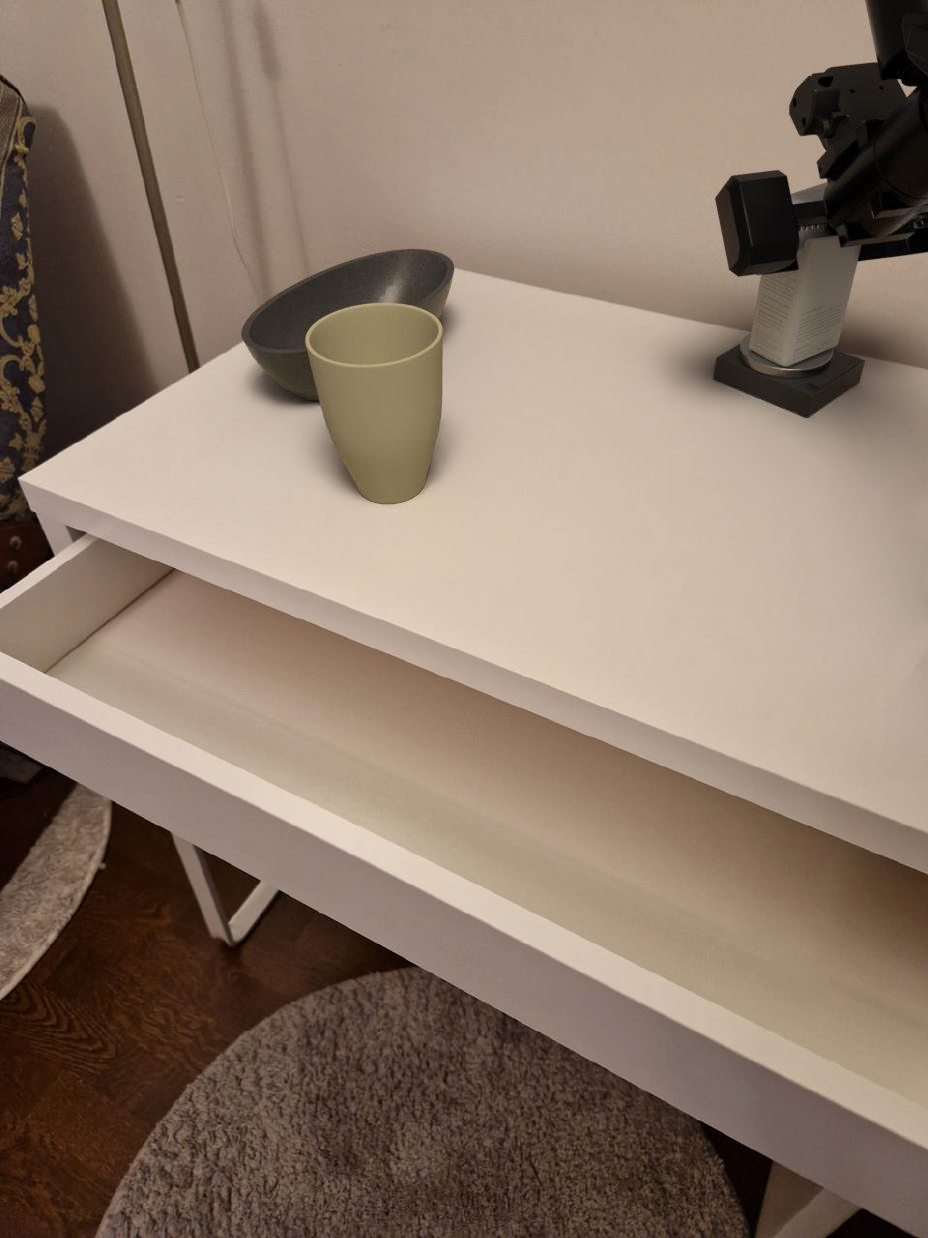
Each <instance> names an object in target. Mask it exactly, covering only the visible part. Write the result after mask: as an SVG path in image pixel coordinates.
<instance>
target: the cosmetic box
mask: <svg viewBox="0 0 928 1238" xmlns="http://www.w3.org/2000/svg"><path fill="white" fill-rule="evenodd" d="M827 185H828V183H827V181H826V182H825V181H824V182H822V183H819V184H816V185H813V186H810V187H807V188H805V189H801V190H799V191H795V192H792V193H791V198H792V203H793V204H798V203H806V202H813V201H821V200H823V195H824V190H825V187H826V186H827ZM825 225H826V224H825ZM820 226H821V225H820ZM803 228H804V227H803ZM809 228H810V226H809ZM861 246H862V245H858V246H851V247H843V248H841V247H840V242H839V238H831V239H824V240H816V241H809V242H805V244H804V247H803V248H802V249H801V250H800V251H799V252H798V253H797V261H798V266H799V270H797V271H790V272H782V273H775V274H768V275H760V280H759V285H758V292H757V297H756V302H755V308H754V315H753V320H752V325H751V332H750V333H751V337H750V342H749V347H750V349H751V350H752V351H754V352H756V353H757V354H759V355H761V356H763V357H765V358H766V359H768V360H770V361H772V362H775V363H777V364H779V365H781V366H784V367H787V366H790V365H792V364H795V363H797V362H799V361H802V360H804V359H806V358H809V357H811V356H814V355H816V354H818V353H821V352H823V351H825V350H828V349H830V348H836V347H837V346H838V345H839V342H840V337H841V335H842V334H841V333H842V330H843V325H844V320H845V317H846V313H847V309H848V304H849V300H850V297H851V296H850V295H851V291H852V287H853V283H854V279H855V274H856V271H857V265H858V263H859V262H858V258H859V254H860V250H861Z"/></svg>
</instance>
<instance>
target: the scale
mask: <svg viewBox="0 0 928 1238" xmlns="http://www.w3.org/2000/svg"><path fill="white" fill-rule="evenodd" d="M750 337H751V332H750V333H749V334H747V335H746V336H745V337H743V339H742V340H741V342H740V343H738V344H736V345H735V346H733V347H731V348H730V349H728V350H726V351H724V352H723V353H720V354H719V355H718V356H716V357H715V361H714V362H715V363H714V368H713V369H714V370H713V376H712V380H714V381H717V382H719V383H721V384H724V385H726V386H728V387H731V388H733V389H736V390H738V391H740V392H744V393H745V394H748V395H751V396H752V397H755V398H758V399H761V401H762V400H763V401H765V402H768V403H770V404H772V405H775V406H777V407H780V408H782V409H784V410H787V411H789V412H791V413H795V414H797V415H799V416H802V417H804V418H807V419H808V418H810V417H811V416H812V415H814V414H816V413H817V412H819V411H820V410H822V409H823V408H824V407H826V406H827V405H829V404H830V403H832V402H833V401H834V400H836V399H837V398H839V397H840V396H842V395H843V394H845V393H846V392H847V391H849V390H850V389H852V388H854V387H855V386H857V384H859V383H860V382H861V379H862V375H863V370H864V367H865V363H866V360H865V359H863V358H860V357H857V356H854V355H852V354H850V353H846V352H843V351H842V350H838V349H835V348H834V347H832V348H830V349H828V350H825V351H823V352H821V353H818V354H816V355H814V356H811V357H809V358H806V359H804V360H802V361H799V362H797V363H795V364H792V365H790V366H787V367H784V366H781V365H779V364H777V363H775V362H772V361H770V360H768V359H766V358H765V357H763V356H761V355H759V354H757V353H756V352H754V351H752V350H751V349H750V347H749V342H750Z"/></svg>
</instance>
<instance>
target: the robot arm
mask: <svg viewBox="0 0 928 1238" xmlns="http://www.w3.org/2000/svg"><path fill="white" fill-rule="evenodd" d="M864 3H865V7H866V12H867V19H868V22H869V27H870V32H871V33H870V34H871V35H872V36H871V38H872V41H873V47H874V52H875V57H876V61H873V62H863V63H854V64H853V63H852V64H845V65H844V64H843V65H837V66H831V67H828V68H826V69H825V70H824V71H822V72H814V73H813V72H812V74H810V75H808V76H807V77H806V78H805V79H804V80H803V81H802V82H801V83H800V84H799V85H798V86H797V87H796V89H794V92H793V95H792V97H791V100H790V102H789V106H788V115H789V117H790V120H791V121H792V124H793V126H794V127H795V130H796V132H797V135H799V137H808V136H809V137H810V136H816V137H818V139H819V142H820V143H821V146H822V147H823V149H824V150H825V151H824V152H823V154H822V155H821V156H820V157H819V158H818V159H817V161H816V167H817V172H818V177H819V179H820V180H825V179H826V182H827V183H828V185H827V186H826V187H825V190H824V195H823V200H821V201H813V202H806V203H798V204H793V203H792V198H791V194H792V193H791V188H790V183H789V179H788V175H786V174H785V173H783V172H782V171H781V170H779V169H774V170H766V171H758V172H750V173H749V172H748V173H740V174H733V175H731V176H729V178H728V180H727V181H726V182H725V183H724V185H723V186H722V187H721V188H720V190H719V191H718V193H717V194H716V196H715V197H714V201H715V206H716V211H717V216H718V222H719V226H720V231H721V237H722V242H723V247H724V252H725V255H726V257H725V258H726V262H727V267H728V271H729V272H730V273H732V274H734V275H735V276H736V277H738V278H741V277H748V276H755V275H756V276H761V275H768V274H775V273H782V272H790V271H797V270H799V266H798V261H797V253H798V252H799V251H800V250H801V249H802V248H803V247H804V244H805V242H809V241H816V240H824V239H831V238H839V242H840V247H841V248H843V247H851V246H858V245H862V246H861V250H860V254H859V258H858V262H857V263H859V262H865V261H867V262H868V261H874V260H881V259H889V258H899V257H904V256H906V257H907V256H913V255H919V254H928V0H864ZM899 80H900V82H901V84H902V85H903V86H905V87H909V88H911V87H912V88H913V87H915V88H914V89H913V90H912V91H911V92H910V93H909V94H908V95H906V93H905V91H904V89H903V87H902V86H901V84H900V82H899ZM825 224H826V225H825ZM820 225H821V226H820ZM809 226H810V228H809ZM803 227H804V228H803Z"/></svg>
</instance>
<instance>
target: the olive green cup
mask: <svg viewBox="0 0 928 1238" xmlns="http://www.w3.org/2000/svg"><path fill="white" fill-rule="evenodd" d="M305 343H306V348H307V352H308V356H309V360H310V364H311V368H312V372H313V377H314V381H315V385H316V389H317V393H318V397H319V401H318V402H319V405H320V409H321V413H322V417H323V419H324V423H325V426H326V429H327V431H328V434H329V437H330V438H331V441H332V442H333V445H334V447H335V450H336V451H337V453H338V454H339V456H340V458H341V461H342V462H343V464H344V465H345V467H346V469H347V471H348V473H349V475H350V477H351V478H352V480H353V482H354V484H355V486H356V488H357V490H358V492H359V493H360V494H361V496H362V497H364V498H365V499H367V500H368V501H370V502H373V503H377V504H381V505H382V504H385V505H391V504H399V503H404V502H407V501H409V500H411V499H413V498H415V497H416V496H417V495H418V494H420V493H421V491H422V490H423V488H424V486H425V483H426V480H427V479H426V478H427V476H428V472H429V468H430V464H431V462H432V457H433V454H434V451H435V450H434V449H435V446H436V442H437V439H438V436H439V431H440V426H441V419H442V411H443V409H442V408H443V373H444V372H443V369H444V368H443V366H444V365H443V362H444V361H443V360H444V359H443V357H444V356H443V355H444V353H443V352H444V351H443V350H444V328H443V325H442V323H441V321H440V319H439V320H438V319H437V318H436V317H435V316H434V315H433V314H431V313H430V312H428V311H426V310H424V309H421V308H418V307H415V306H411V305H405V304H398V303H371V304H362V305H357V306H352V307H348V308H344V309H341V310H338V311H335V312H333V313H331V314H329V315H327V316H325V317H323V318H321V319H320V320H318V321H317V322H316V323H315V324H313V325H312V326H311V328H310V329H309V330H308V332H307V334H306V338H305Z"/></svg>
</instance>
